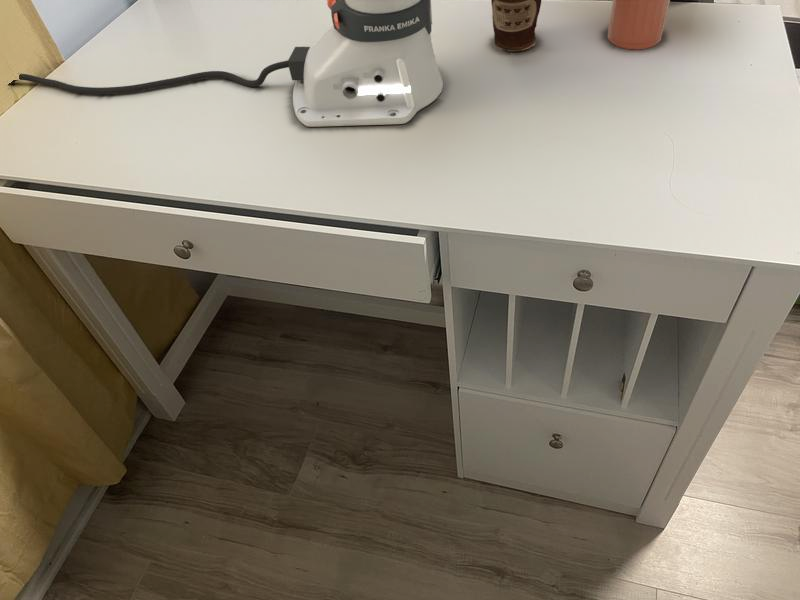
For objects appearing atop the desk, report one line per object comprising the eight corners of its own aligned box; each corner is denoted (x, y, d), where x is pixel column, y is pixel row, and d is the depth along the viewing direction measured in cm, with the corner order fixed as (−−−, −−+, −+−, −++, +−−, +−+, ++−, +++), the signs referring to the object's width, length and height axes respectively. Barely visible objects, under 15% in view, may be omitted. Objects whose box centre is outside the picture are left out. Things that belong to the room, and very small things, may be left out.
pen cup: (617, 52, 100) (628, -14, 93) (600, 27, 106) (610, -38, 98) (669, 45, 100) (684, -22, 93) (650, 20, 106) (663, -46, 98)
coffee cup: (540, 58, 101) (546, -29, 91) (485, 57, 103) (486, -29, 93) (543, 29, 107) (549, -56, 97) (491, 29, 108) (492, -55, 99)
